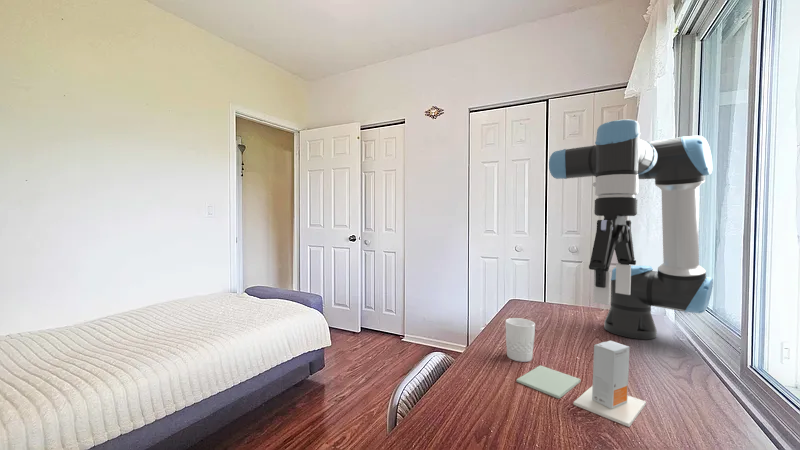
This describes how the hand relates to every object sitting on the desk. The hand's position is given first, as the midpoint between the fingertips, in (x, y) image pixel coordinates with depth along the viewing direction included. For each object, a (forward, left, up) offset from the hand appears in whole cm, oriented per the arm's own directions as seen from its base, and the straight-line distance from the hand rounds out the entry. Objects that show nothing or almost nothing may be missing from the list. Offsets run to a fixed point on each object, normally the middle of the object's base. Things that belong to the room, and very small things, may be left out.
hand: (612, 298), depth 71 cm
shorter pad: (0, -13, -22) cm, 26 cm away
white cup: (-8, -25, -23) cm, 35 cm away
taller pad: (0, 0, -22) cm, 23 cm away
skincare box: (0, 0, -22) cm, 22 cm away
